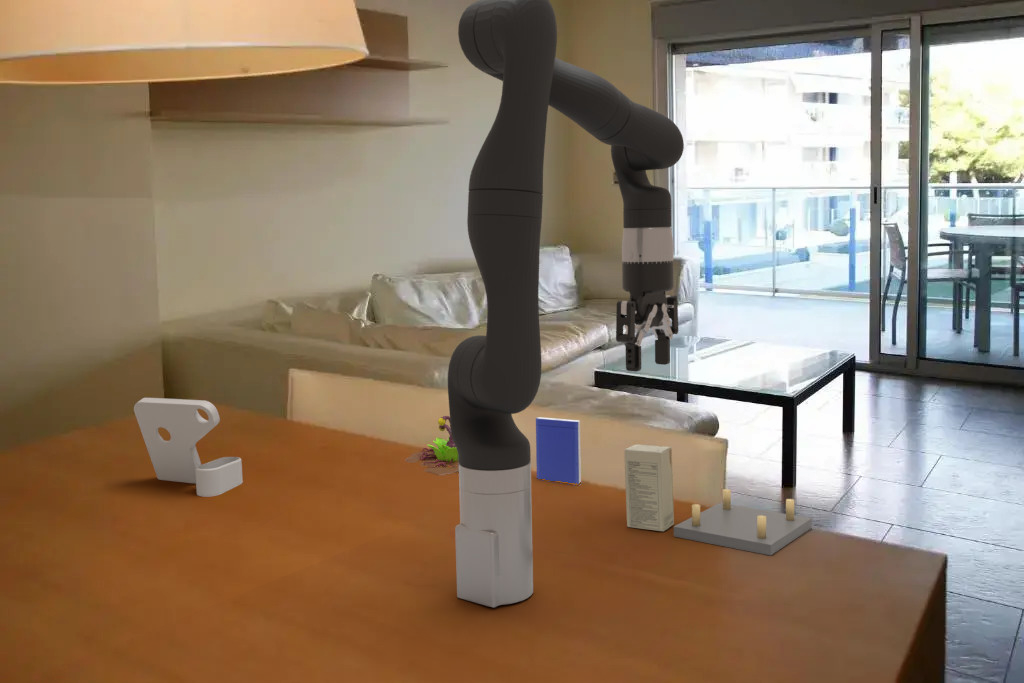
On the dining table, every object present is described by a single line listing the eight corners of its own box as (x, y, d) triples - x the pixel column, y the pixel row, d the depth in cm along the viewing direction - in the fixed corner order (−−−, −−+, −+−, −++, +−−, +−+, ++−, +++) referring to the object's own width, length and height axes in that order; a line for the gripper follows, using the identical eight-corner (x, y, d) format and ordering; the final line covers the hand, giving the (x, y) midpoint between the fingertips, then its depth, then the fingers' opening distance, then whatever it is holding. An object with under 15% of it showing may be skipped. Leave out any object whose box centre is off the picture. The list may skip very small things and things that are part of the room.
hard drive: (578, 492, 168) (577, 422, 166) (536, 487, 172) (534, 418, 170) (581, 490, 169) (580, 420, 168) (540, 485, 173) (538, 416, 172)
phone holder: (250, 492, 173) (245, 392, 171) (214, 507, 163) (208, 402, 161) (171, 485, 179) (165, 389, 177) (132, 500, 169) (125, 398, 167)
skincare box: (674, 525, 148) (674, 446, 146) (663, 533, 144) (663, 452, 143) (636, 519, 151) (635, 442, 150) (624, 526, 148) (623, 448, 146)
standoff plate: (770, 555, 133) (771, 523, 133) (673, 536, 142) (673, 506, 142) (811, 528, 145) (812, 498, 144) (719, 512, 154) (719, 484, 154)
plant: (381, 471, 187) (379, 414, 186) (462, 455, 199) (461, 401, 198) (441, 491, 172) (439, 429, 170) (525, 472, 184) (524, 414, 183)
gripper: (645, 260, 135) (646, 375, 137) (693, 257, 146) (693, 363, 148) (600, 260, 140) (601, 371, 142) (649, 257, 151) (650, 360, 153)
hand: (648, 367), depth 145 cm, fingers open, 8 cm apart
